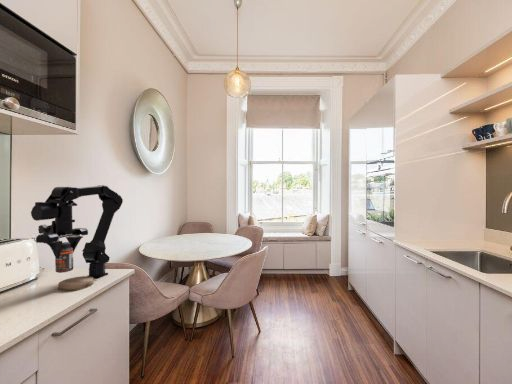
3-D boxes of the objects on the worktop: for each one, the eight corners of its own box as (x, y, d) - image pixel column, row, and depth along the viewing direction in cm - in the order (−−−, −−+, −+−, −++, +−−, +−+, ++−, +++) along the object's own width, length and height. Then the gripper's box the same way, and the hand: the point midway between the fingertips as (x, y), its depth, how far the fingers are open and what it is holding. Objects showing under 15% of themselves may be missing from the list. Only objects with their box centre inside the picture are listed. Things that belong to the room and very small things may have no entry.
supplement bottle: (52, 273, 104) (51, 245, 103) (59, 269, 109) (59, 242, 109) (69, 272, 105) (69, 244, 105) (75, 268, 111) (75, 241, 111)
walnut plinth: (75, 280, 116) (75, 275, 116) (100, 281, 114) (100, 276, 114) (50, 290, 104) (50, 285, 104) (77, 291, 102) (77, 286, 102)
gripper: (66, 215, 118) (67, 250, 118) (23, 220, 99) (24, 261, 99) (88, 215, 116) (89, 250, 116) (48, 220, 97) (49, 262, 97)
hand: (64, 256), depth 107 cm, fingers closed on supplement bottle, 6 cm apart
